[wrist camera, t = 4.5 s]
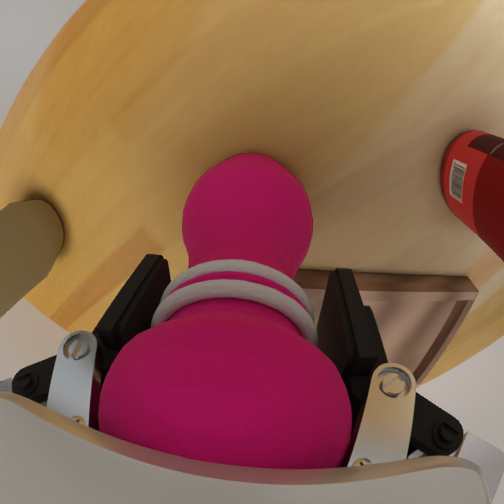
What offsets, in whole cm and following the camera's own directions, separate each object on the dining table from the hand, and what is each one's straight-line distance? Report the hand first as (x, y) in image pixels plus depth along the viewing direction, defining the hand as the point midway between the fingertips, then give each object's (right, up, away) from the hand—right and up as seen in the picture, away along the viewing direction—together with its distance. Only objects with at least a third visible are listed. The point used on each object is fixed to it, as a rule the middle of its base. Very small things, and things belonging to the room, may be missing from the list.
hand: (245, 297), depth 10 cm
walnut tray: (+12, -7, +16) cm, 21 cm away
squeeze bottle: (-21, +4, +12) cm, 24 cm away
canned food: (+18, +8, +7) cm, 21 cm away
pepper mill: (0, +6, +9) cm, 11 cm away
